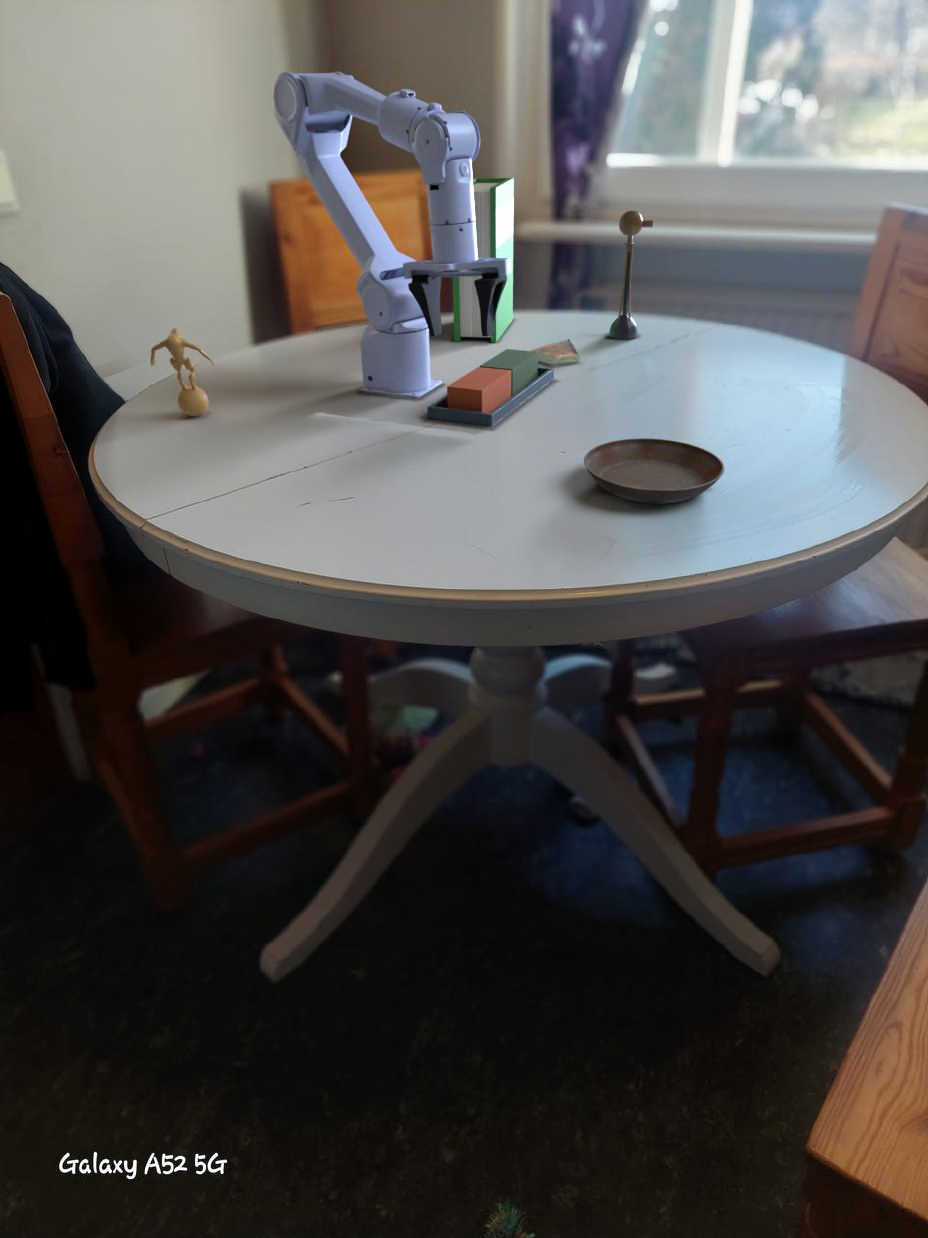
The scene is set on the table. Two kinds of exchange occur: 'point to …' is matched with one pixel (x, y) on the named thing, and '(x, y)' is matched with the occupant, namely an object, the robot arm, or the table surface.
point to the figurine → (192, 396)
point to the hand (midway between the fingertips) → (461, 334)
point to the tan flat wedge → (557, 353)
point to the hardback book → (491, 243)
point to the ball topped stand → (628, 276)
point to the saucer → (653, 469)
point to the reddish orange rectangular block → (480, 390)
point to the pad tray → (444, 413)
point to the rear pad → (516, 367)
